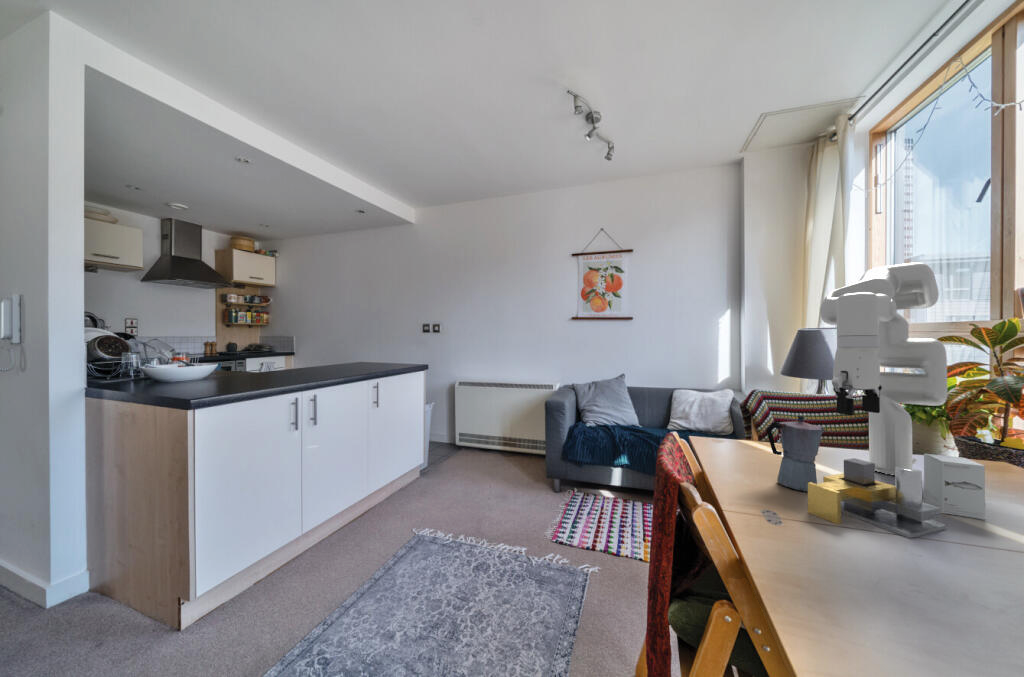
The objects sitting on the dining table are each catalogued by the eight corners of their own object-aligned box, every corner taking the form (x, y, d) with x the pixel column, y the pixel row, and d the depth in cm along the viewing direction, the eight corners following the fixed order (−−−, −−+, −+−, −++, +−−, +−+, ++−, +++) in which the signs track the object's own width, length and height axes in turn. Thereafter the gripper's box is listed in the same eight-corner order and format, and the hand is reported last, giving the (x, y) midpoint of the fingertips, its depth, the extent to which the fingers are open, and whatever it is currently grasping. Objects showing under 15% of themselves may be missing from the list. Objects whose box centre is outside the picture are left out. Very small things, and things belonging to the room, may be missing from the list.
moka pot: (839, 494, 96) (838, 419, 97) (780, 493, 97) (780, 418, 97) (810, 480, 106) (809, 412, 106) (757, 479, 106) (757, 412, 107)
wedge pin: (854, 502, 89) (854, 458, 89) (875, 509, 85) (874, 463, 86) (844, 504, 88) (843, 459, 88) (864, 511, 84) (863, 464, 84)
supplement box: (940, 513, 85) (939, 460, 86) (923, 501, 92) (922, 452, 92) (987, 521, 82) (986, 465, 82) (965, 508, 88) (964, 456, 89)
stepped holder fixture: (855, 498, 94) (854, 452, 94) (946, 528, 78) (945, 473, 78) (800, 509, 87) (799, 459, 87) (887, 544, 72) (886, 484, 72)
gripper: (861, 343, 94) (861, 408, 94) (816, 343, 89) (817, 412, 89) (899, 343, 87) (900, 413, 87) (853, 343, 82) (854, 418, 82)
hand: (858, 413), depth 88 cm, fingers open, 9 cm apart
